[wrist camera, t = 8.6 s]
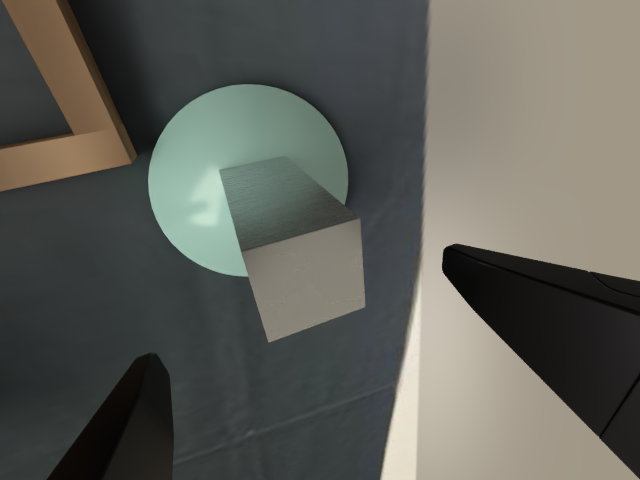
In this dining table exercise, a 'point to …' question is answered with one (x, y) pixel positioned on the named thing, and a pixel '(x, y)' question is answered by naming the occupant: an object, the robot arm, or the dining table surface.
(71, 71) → the walnut collar
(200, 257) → the teal coaster
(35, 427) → the dining table surface
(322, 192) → the steel bar
